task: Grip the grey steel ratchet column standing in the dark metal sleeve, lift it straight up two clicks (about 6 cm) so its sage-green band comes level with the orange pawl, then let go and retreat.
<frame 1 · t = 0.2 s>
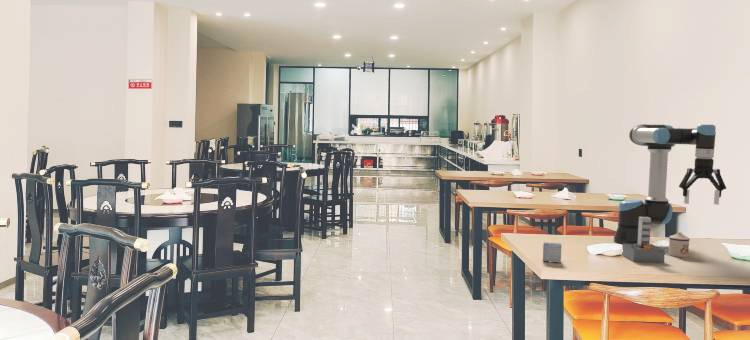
hand: (701, 204, 271), 28 cm above the table, fingers open, 13 cm apart
sleeve base: (642, 259, 280), on the table
medicine box: (551, 262, 270), on the table
teacup with lid: (679, 255, 291), on the table
column: (644, 238, 279), point 10 cm above the table, slide at 0.0 cm
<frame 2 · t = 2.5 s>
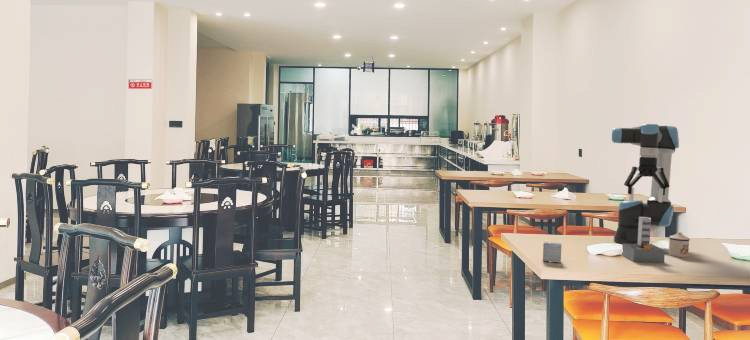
hand: (645, 201, 278), 28 cm above the table, fingers open, 13 cm apart
nothing on the table moved.
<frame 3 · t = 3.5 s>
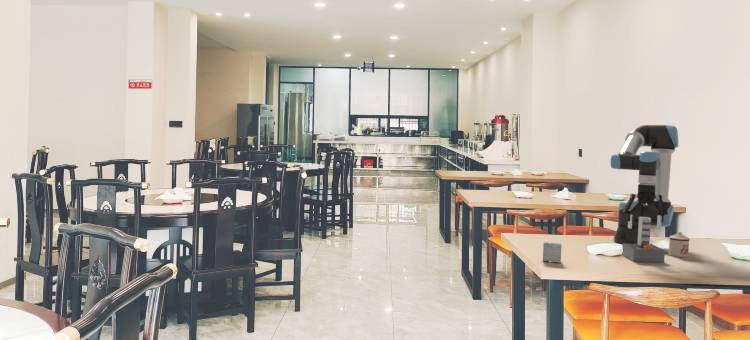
hand: (644, 228, 279), 15 cm above the table, fingers open, 13 cm apart
nothing on the table moved.
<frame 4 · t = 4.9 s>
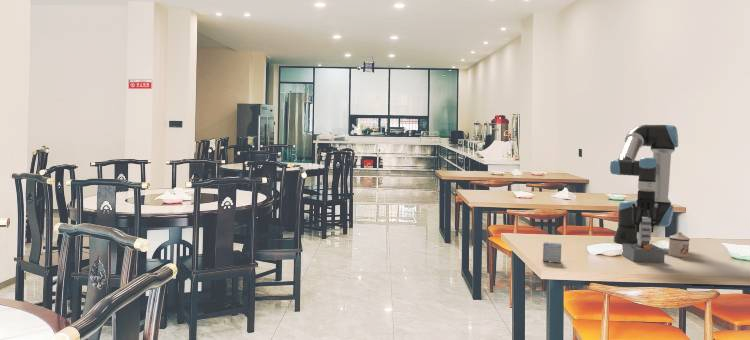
hand: (643, 239, 279), 10 cm above the table, fingers closed on column, 4 cm apart
column: (644, 238, 279), point 10 cm above the table, slide at 0.0 cm, touching gripper
everything else where it was.
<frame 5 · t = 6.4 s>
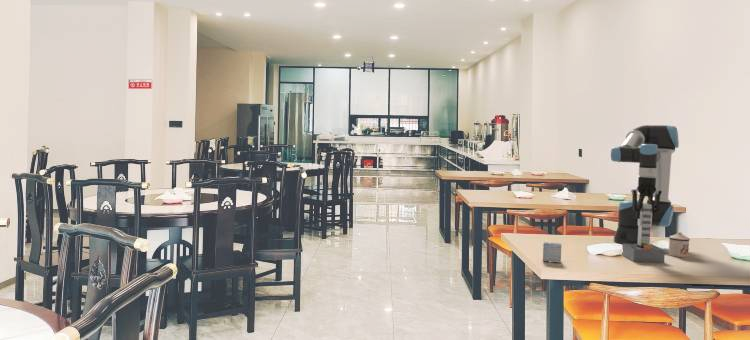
hand: (644, 225, 279), 16 cm above the table, fingers closed on column, 4 cm apart
column: (644, 225, 278), point 16 cm above the table, slide at 6.4 cm, touching gripper
everything else where it was.
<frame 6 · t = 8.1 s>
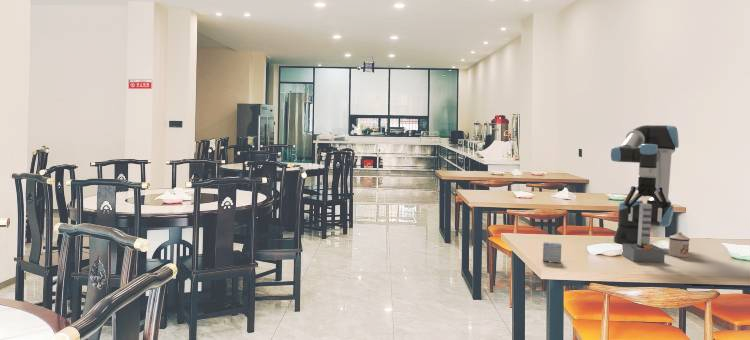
hand: (644, 221, 279), 18 cm above the table, fingers open, 13 cm apart
column: (644, 225, 278), point 16 cm above the table, slide at 6.5 cm
everything else where it was.
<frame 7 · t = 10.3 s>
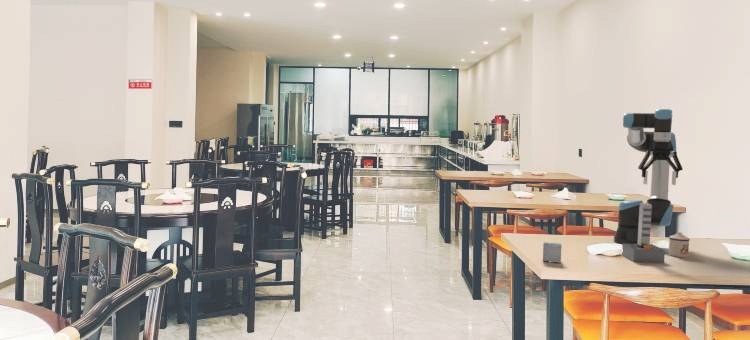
hand: (659, 184, 288), 35 cm above the table, fingers open, 13 cm apart
nothing on the table moved.
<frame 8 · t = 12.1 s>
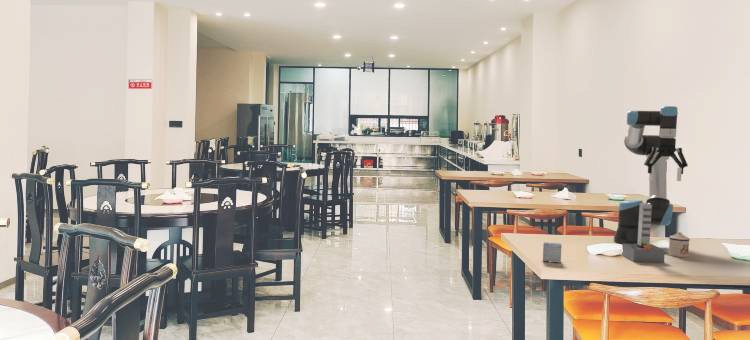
hand: (664, 180, 292), 37 cm above the table, fingers open, 13 cm apart
nothing on the table moved.
at the end: column slide at 6.5 cm; the gripper is holding nothing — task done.
